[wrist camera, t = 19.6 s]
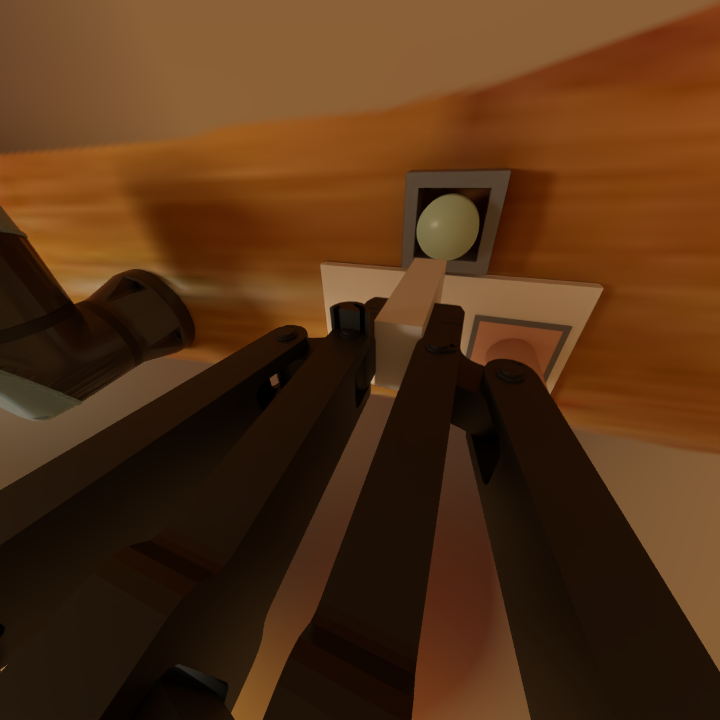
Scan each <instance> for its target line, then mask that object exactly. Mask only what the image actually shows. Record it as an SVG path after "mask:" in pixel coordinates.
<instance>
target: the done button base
mask: <svg viewBox="0 0 720 720" xmlns="http://www.w3.org/2000/svg"><path fill="white" fill-rule="evenodd" d="M510 174H511V170H510V169H509V168H501V169H449V170H412V171H409V172H407V173H406V188H405V207H404V225H403V244H402V262H401V268H407V269H408V268H409V267H410V265H411V264H412V262H413V261H414V259H415V258H425V259H433V258H431V257H430V256H428V255H427V254H426V253H425V252H424V251H423V250H422V249H418V248H419V243H418V239H417V224H418V221H419V218H420V216H421V214H422V202H423V191H424V188H490V193H489V198H488V202H487V207H486V212H485V217H484V222H483V226H482V231H481V236H480V241H479V246H478V250H477V253H474V252H466V253H465V254H463V255H462V256H460V257H458V258H456V259H453V260H448V261H447V263H446V270H445V272H456V273H468V274H481V275H487V271H488V266H489V262H490V258H491V254H492V250H493V246H494V241H495V237H496V233H497V229H498V225H499V220H500V216H501V212H502V208H503V204H504V199H505V195H506V191H507V187H508V183H509V179H510Z"/></svg>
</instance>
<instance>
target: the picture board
mask: <svg viewBox="0 0 720 720" xmlns="http://www.w3.org/2000/svg"><path fill="white" fill-rule="evenodd" d="M320 268H321V276H322V285H323V293H324V302H325V311H326V319H327V328H328V334H329V333H330V332H331V330H332V326H331V317H330V307H331V306H333V305H334V304H337V303H340V302H347V301H354V302H360V303H363V304H365V303H366V302H367V301H368V300H370V299H372V298H374V297H383V298H389V297H390V296H391V294H392V293H393V291H394V290H395V288H396V287H397V285H398V284H399V282H400V281H401V279H402V277H403V276H404V274H405V273H406V271H407V270H408V269H407V268H401V267H389V266H376V265H364V264H351V263H339V262H326V261H324V262H323V263H321V264H320ZM603 289H604V288H603V287H602V286H601V285H600V284H599V283H587V282H575V281H562V280H550V279H537V278H525V277H513V276H500V275H488V274H487V275H481V274H468V273H456V272H445V277H444V283H443V290H442V297H441V304H450V305H458V306H461V307H462V309H463V310H464V311H465V317H464V324H463V331H462V338H461V345H460V348H461V351H462V353H463V354H464V355H465V356H466V357H467V358H468V359H470V360H471V361H473V362H476V363H478V364H481V365H483V366H485V365H486V360H485V357H486V353H487V351H488V350H489V348H490V347H491V346H492V345H494V344H495V343H497V342H499V341H501V340H505V339H520V340H523V341H525V342H527V343H529V344H530V345H531V346H532V347H533V348H534V350H535V353H536V356H537V359H538V362H539V365H540V368H541V371H542V374H543V377H544V380H545V382H546V385H547V388H548V391H549V394H551V392H552V390H553V388H554V386H555V384H556V382H557V380H558V378H559V376H560V374H561V372H562V370H563V368H564V366H565V364H566V362H567V360H568V358H569V356H570V354H571V352H572V350H573V348H574V346H575V344H576V342H577V340H578V338H579V336H580V334H581V332H582V330H583V328H584V326H585V324H586V323H587V321H588V319H589V317H590V315H591V313H592V311H593V309H594V307H595V305H596V303H597V301H598V299H599V297H600V295H601V293H602V291H603ZM371 384H375V375H374V377H373V379H372V381H371Z"/></svg>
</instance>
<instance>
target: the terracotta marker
mask: <svg viewBox="0 0 720 720" xmlns="http://www.w3.org/2000/svg"><path fill="white" fill-rule="evenodd" d="M503 358H504V359H511V360H516V361H519V362H521V363H524V364H526V365H527V366H529V367H531V368H532V369H533V370H534V371H535V372H536V373H537V374H538V376H539V377H540V379H541V381H542V382H543V384H544V385H545V387H546V389H547V390H548V388H547V385H546V382H545V380H544V377H543V374H542V371H541V368H540V365H539V362H538V359H537V356H536V353H535V350H534V348H533V347H532V346H531V345H530V344H529V343H527V342H525V341H523V340H520V339H505V340H501V341H499V342H497V343H495V344H494V345H492V346H491V347H490V348H489V350H488V351H487V353H486V357H485V360H486V364H487V363H488V362H489V361H491V360H494V359H503ZM548 392H549V391H548Z"/></svg>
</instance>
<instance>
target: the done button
mask: <svg viewBox="0 0 720 720" xmlns="http://www.w3.org/2000/svg"><path fill="white" fill-rule="evenodd" d="M478 231H479V213H478V210H477V207H476V206H475V204H474V203H473V201H472V200H471V199H469V198H468V197H467V196H465V195H462V194H459V193H448V194H444V195H441V196H439V197H438V198H436V199H435V200H433V201H432V202H431V203H430V204H429V205H428V206H427V207H426V209H425V210H424V211H423V213H422V214H421V216H420V218H419V221H418V224H417V239H418V243H419V245H420V247H421V249H422V250H423V251H424V252H425V253H426V254H427V255H428V256H430V257H431V258H433V259H439V260H447V261H448V260H453V259H456V258H458V257H460V256H462V255H463V254H465V253H466V252H467V251H468V250H469V249H470V248H471V247H472V245H473V244H474V242H475V240H476V238H477V235H478Z"/></svg>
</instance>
